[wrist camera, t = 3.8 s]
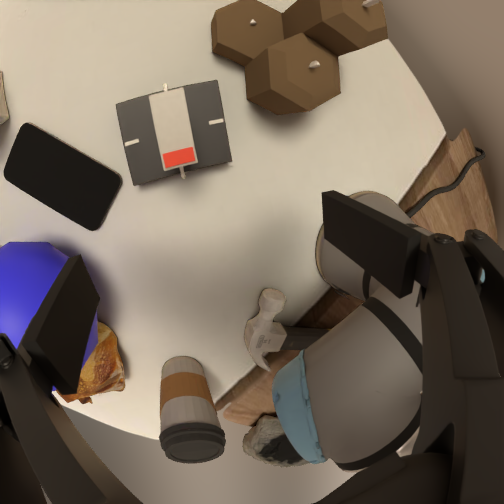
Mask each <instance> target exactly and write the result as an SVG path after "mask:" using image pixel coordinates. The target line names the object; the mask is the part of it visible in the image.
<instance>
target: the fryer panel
mask: <svg viewBox="0 0 504 504" xmlns="http://www.w3.org/2000/svg"><path fill="white" fill-rule="evenodd" d="M182 87H183V88H184V93H185V98H186V104H187V109H188V115H189V120H190V125H191V130H192V135H193V140H194V145H195V150H196V155H197V160H198V163H194V164H190V165H186V166H182V167H178V168H174V169H170V170H167V171H164V168H163V164H162V160H161V155H160V151H159V146H158V141H157V137H156V132H155V127H154V122H153V117H152V112H151V106H150V101H149V95H153V94H157V93H161V92H165V91H169V90H173V89H178V88H182ZM182 87H177V88H173V89H168V88H167V84H163V88H164V91H160V92H156V93H152V94H149V95H145V96H141V97H138V98H134V99H131V100H128V101H125V102H121V103H118V104H116V109H117V115H118V120H119V125H120V130H121V135H122V139H123V144H124V148H125V153H126V157H127V161H128V166H129V170H130V174H131V178H132V181H133V185H134V186H136V185H139V184H143V183H146V182H150V181H153V180H157V179H160V178H164V177H168V176H171V175H175V174H179V173H181V177H182V179H185V173H184V172H187V171H191V170H195V169H199V168H204V167H208V166H212V165H217V164H221V163H226V162H231V161H232V158H231V153H230V147H229V142H228V136H227V130H226V125H225V119H224V114H223V108H222V103H221V97H220V92H219V86H218V81H217V80H214V81H208V82H202V83H197V84H191V85H186V86H182Z"/></svg>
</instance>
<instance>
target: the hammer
mask: <svg viewBox="0 0 504 504" xmlns="http://www.w3.org/2000/svg"><path fill="white" fill-rule="evenodd" d="M285 302H286V297H285V295H284V294H283V293H281V292H280V291H278V290H275V289H271V288H267V289H265V290H263V292H262V294H261V296H260V299H259V301H258V303H259V306H260V312H259V314H258V315H257V316H256V317H255V318H253V319H250V320H248V322H247V325H246V328H245V334H244V339H245V342H246V346H247V349H248V351H249V353H250V355H251V357H252V359H253V361H254V362H255V363H256V364H257V365H258V366H260V367H262V368H264V369H265V370H267V371H271V369H270V366H269V364H268V362H267V360H266V359H265V358H264V357H263V356H262V354H263V353H264V352H278V351H279V350H303V349H307V348H308V347H309V346H311V345H312V344H313V343H315V342H316V341H317V340H318V339H320V338H321V337H322V336H324V335H325V334H326V333H327V332H329V331H330V330H331V329H319V328H302V327H288V326H282V325H281V323H274V322H273V318H274V316H275V315H276V314H277V313H280V312H281V311H282V309H283V307H284V304H285Z"/></svg>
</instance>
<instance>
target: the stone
mask: <svg viewBox="0 0 504 504" xmlns="http://www.w3.org/2000/svg"><path fill="white" fill-rule="evenodd" d="M243 450H244V452H245V453H246V454H248V455H250V456H252V457H253V458H255V459H257V460H260V461H263V462H264V463H266V464H271V465H274V466H280V467H290V466H300V465H304V464H308V463H310V462H309V461H307V460H305V459H304V458H303V457H301V456H300V454H299V453H298V452H297V451H296V450H295V448H294V447H293V445H292V444H291V442H290V441H289V439H288V438H287V436H286V434H285V432H284V430H283V428H282V426H281V424H280V421H279V419H278V417H272V416H269V415H264V417H262V418H260V419H259V421H258V422H257V425H256V426H253V427H252V428H251V429H250V430H249V433H248V434H245V436H244V439H243Z"/></svg>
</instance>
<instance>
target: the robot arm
mask: <svg viewBox="0 0 504 504" xmlns="http://www.w3.org/2000/svg"><path fill="white" fill-rule="evenodd" d="M449 140H451V139H449ZM451 141H454V140H451ZM474 147H475V146H474ZM475 150H476V151H477V152H480V153H481V154H482V155H480V156H477V157H475V158H473V159H471V160H470V161H469V162H468V163H467V165H466V166H465V168H464V169H463V171H462V173H461V175H460V176H459V178H458V179H457V180H456V181H455V182H454V183H453V184H452V185H450V186H447V187H443V188H438V189H436V190H433V191H431V192H430V193H429V194H427V195H426V196H425V197H424V198H423V199H422V200H421V201H420V202H419V203H418V204H417V205H416V206H415V207H414V208H412V209H411V210H410V211H409V212H408V213H407V214H405V213H404V212H403V211H402V210H401V209H400V207H399V206H398V205H397V204H396V203H395V202H394V201H393V200H391V199H390V198H389V197H387V196H385V195H382V194H379V193H377V192H373V191H363V192H358V193H355V194H352V195H350V196H348V197H347V196H345V195H343V194H341V193H339V192H336V191H334V190H332V191H327V192H322V206H323V225H322V227H321V230H320V233H319V235H318V239H317V244H316V262H317V266H318V269H319V271H320V274H321V275H322V277H323V278H324V279H325V280H326V281H327V282H328V283H329V284H330V285H331V286H332V287H333V288H335V289H336V290H338V291H339V292H342V293H344V294H348V295H352V296H353V297H356V298H358V299H361V300H364V301H365V302H364V303H363V304H361V305H360V306H359V307H358V308H356V309H355V310H354V311H353V312H352V313H351V314H349V315H348V316H347V317H346V318H345V319H343V320H342V321H341V322H340V323H338V324H337V325H336V326H335V327H334V328H332V329H331V330H330V331H329V332H327V333H326V334H325V335H324V336H322V337H321V338H320V339H318V340H317V341H316V342H315V343H313V344H312V345H311V346H309V347H308V348H307V349H303V350H301V351H300V353H299V355H298V356H297V357H295V358H294V359H293V360H292V361H290V362H289V363H288V364H287V365H285V366H284V367H283V368H281V369H280V370H279V371H278V372H277V374H276V375H275V377H274V379H273V383H272V398H273V402H274V406H275V410H276V413H277V416H278V419H279V421H280V424H281V426H282V428H283V430H284V432H285V434H286V436H287V438H288V439H289V441H290V442H291V444H292V445H293V447H294V448H295V450H296V451H297V452H298V453H299V454H300V456H301V457H303V458H304V459H305V460H307V461H309V462H310V463H312V464H318V463H323V462H326V461H327V460H328V458H331V459H332V460H333V461H334V462H335V463H336V464H337V465H338V467H339V468H341V469H342V470H343V471H346V472H357V473H356V474H355V475H354V476H353V477H351V478H350V479H349V480H347V481H346V482H345V483H343V484H342V485H341V486H340V487H338V488H337V489H336V490H334V491H333V492H331V493H330V494H329V495H327V496H326V497H324V498H323V499H321V500H320V501H318V502H316V503H313V504H504V251H503V250H502V249H501V248H500V247H499V246H498V245H497V244H496V243H495V242H494V241H493V240H492V239H491V238H490V237H489V236H488V235H487V234H485V233H483V232H482V231H480V230H477V229H474V230H467V231H465V237H464V241H461V242H456V240H455V239H454V238H453V237H451V236H448V235H446V234H440V233H435V234H434V233H432V232H430V231H428V230H426V229H424V228H422V227H420V226H418V225H416V224H415V223H414V222H413V221H412V220H411V219H410V218H411V217H412V216H413V215H414V214H415V213H416V212H418V211H419V210H420V209H421V208H422V207H423V206H424V205H425V204H426V203H427V202H428V201H429V200H430V199H431V198H432V197H433V196H435V195H437V194H439V193H444V192H448V191H451V190H453V189H454V188H456V187H457V186H458V185H459V184H460V183H461V181H462V180H463V178H464V177H465V175H466V173H467V171H468V170H469V168H470V167H471V166H472V164H474V163H475V162H477V161H479V160H482V159H483V158H485V152H484V151H483V150H482V149H480V148H478V147H475ZM334 291H335V290H334ZM335 292H336V293H337V294H339V295H341V296H343V297H345V298H347V297H346V296H345V295H343V294H341V293H339V292H337V291H335ZM347 299H348V298H347ZM99 300H100V297H99V295H98V293H97V291H96V289H95V287H94V284H93V282H92V280H91V278H90V276H89V273H88V271H87V269H86V266H85V264H84V262H83V259H82V257H81V254H80V255H77V256H74V257H71V258H69V259H68V260H67V262H66V263H65V265H64V266H63V268H62V270H61V271H60V273H59V274H58V276H57V278H56V279H55V281H54V282H53V284H52V286H51V288H50V289H49V291H48V293H47V294H46V296H45V298H44V300H43V301H42V303H41V305H40V307H39V309H38V311H37V312H36V314H35V315H34V316H33V318H32V319H31V321H30V323H29V325H28V327H27V329H26V331H25V334H24V335H23V337H22V339H21V341H20V343H19V345H18V348H17V349H16V348H15V347H14V345H13V344H12V342H11V341H10V339H9V338H8V336H7V335H6V334H5V333H0V504H47V502H46V499H45V497H44V494H43V491H42V489H41V486H42V488H43V489H44V491H45V493H46V494H47V496H48V498H49V499H50V501H51V502H52V504H143V503H142V502H140V500H139V499H137V498H136V497H135V496H134V495H133V494H132V493H131V492H130V491H129V490H128V489H127V488H126V487H125V486H124V485H123V484H122V483H121V482H120V481H119V479H117V477H116V476H115V475H114V474H113V473H112V472H111V471H110V470H109V469H108V468H107V466H106V465H105V464H104V463H103V462H102V461H101V459H100V458H99V457H98V456H97V455H96V453H95V452H94V451H93V450H92V449H91V447H90V446H89V445H88V443H87V442H86V441H85V439H84V438H83V437H82V435H81V434H80V433H79V431H78V430H77V429H76V427H75V426H74V425H73V423H72V421H71V420H70V419H69V417H68V416H67V414H66V413H65V411H64V410H63V408H62V406H61V405H60V403H59V402H58V400H57V399H56V397H55V396H54V395H53V394H52V389H53V386H54V387H55V388H56V389H57V390H58V391H59V393H60V394H61V395H70V394H77V389H78V383H79V378H80V373H81V369H82V364H83V360H84V355H85V351H86V347H87V343H88V339H89V335H90V331H91V328H92V324H93V321H94V317H95V314H96V310H97V307H98V304H99ZM500 376H501V377H500ZM421 391H422V395H421V394H420V392H421ZM40 484H41V485H40Z"/></svg>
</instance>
